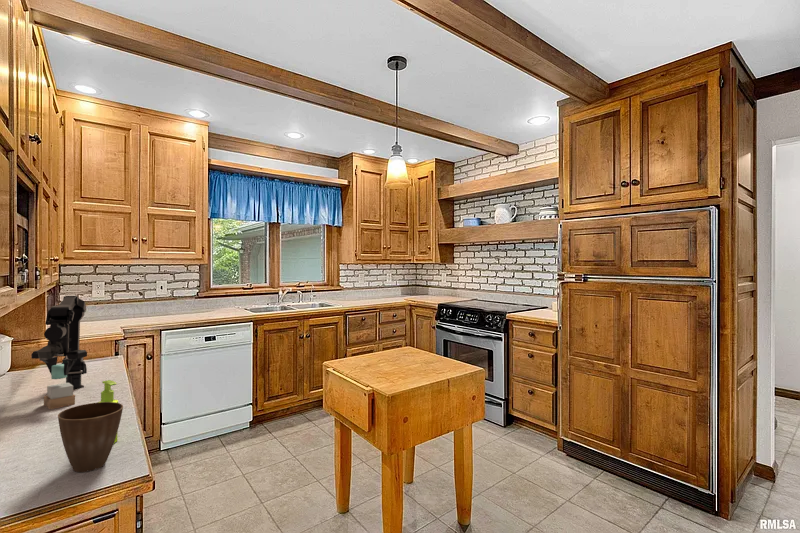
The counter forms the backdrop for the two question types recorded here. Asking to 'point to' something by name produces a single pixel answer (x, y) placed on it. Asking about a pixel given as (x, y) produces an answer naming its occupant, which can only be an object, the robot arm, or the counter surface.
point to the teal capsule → (58, 372)
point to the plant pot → (89, 433)
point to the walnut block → (59, 402)
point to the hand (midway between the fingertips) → (59, 375)
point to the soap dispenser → (108, 395)
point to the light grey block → (59, 390)
